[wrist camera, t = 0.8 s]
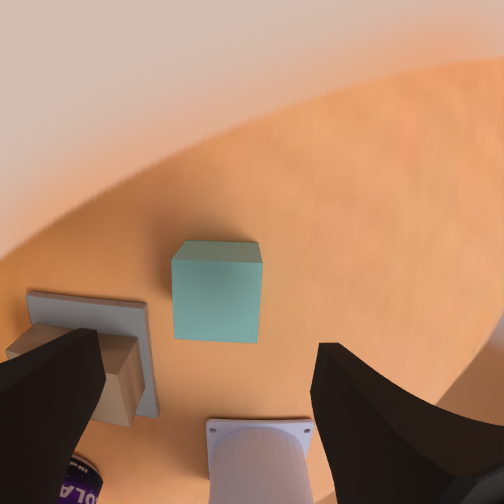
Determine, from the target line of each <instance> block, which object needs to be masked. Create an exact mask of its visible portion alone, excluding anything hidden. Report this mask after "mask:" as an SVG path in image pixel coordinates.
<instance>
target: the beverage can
mask: <svg viewBox="0 0 504 504" xmlns="http://www.w3.org/2000/svg"><path fill="white" fill-rule="evenodd" d="M102 485H103V480H102V478H101V477H100V475H99V473H98V471H97V469H96V468H95V467H94V466H93V465H92V464H91V463H90V462H88V461H87V460H85V459H83V458H81V457H79V456H77V455H74V454H72V457H71V459H70V462H69V465H68V468H67V471H66V475H65V478H64V481H63V485H62V489H61V493H60V497H59V501H58V504H96V502H97V499H98V496H99V493H100V491H101V488H102Z"/></svg>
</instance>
